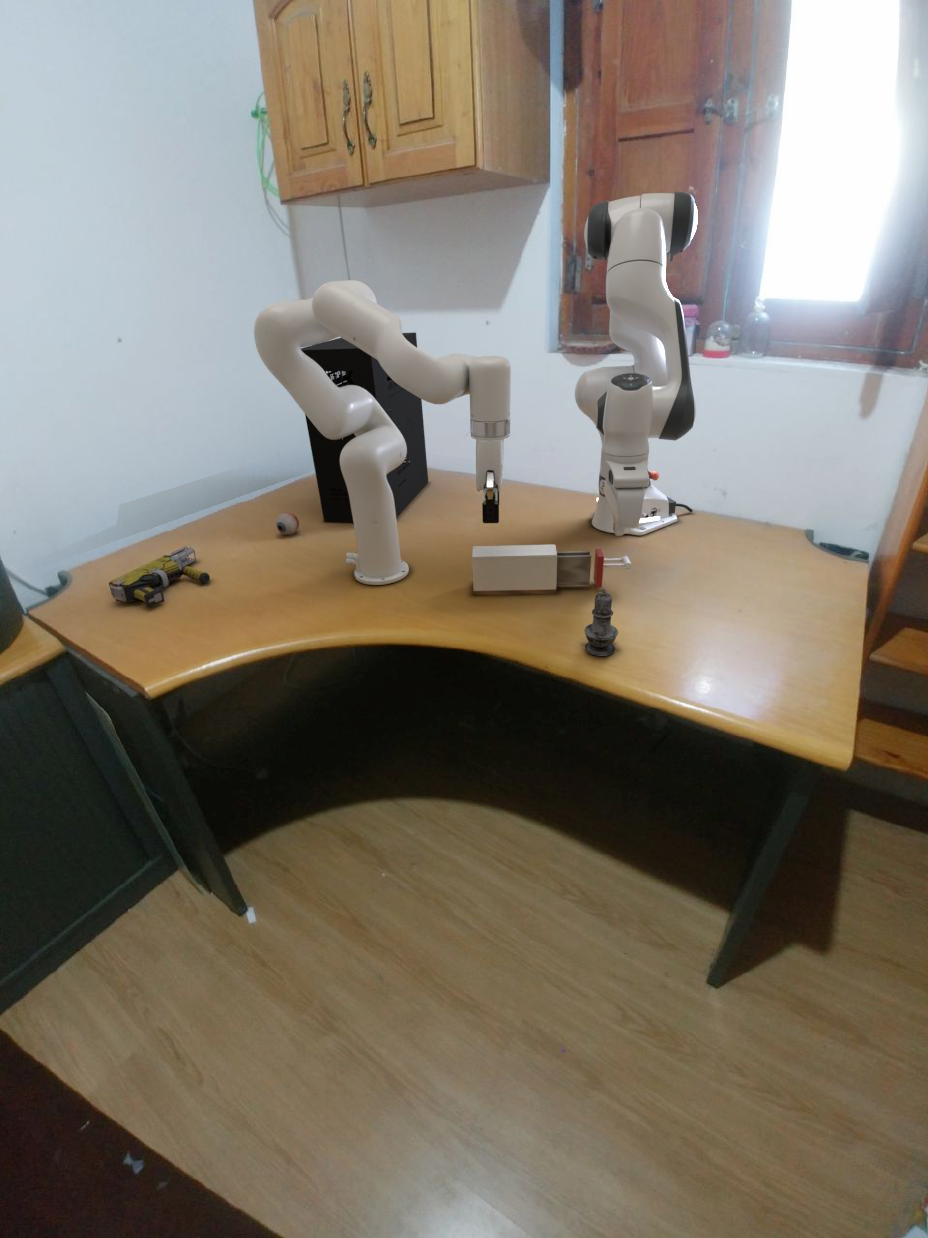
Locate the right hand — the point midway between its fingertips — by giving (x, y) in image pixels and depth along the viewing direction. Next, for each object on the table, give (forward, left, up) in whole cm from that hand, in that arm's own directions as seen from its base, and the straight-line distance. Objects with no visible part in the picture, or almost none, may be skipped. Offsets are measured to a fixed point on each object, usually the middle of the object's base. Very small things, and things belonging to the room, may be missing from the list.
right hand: (618, 532), depth 123 cm
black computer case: (+26, -82, -12) cm, 87 cm away
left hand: (+23, -12, +5) cm, 26 cm away
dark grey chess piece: (+17, +19, -12) cm, 28 cm away
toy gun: (+86, -51, -12) cm, 101 cm away
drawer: (+7, -4, -11) cm, 14 cm away
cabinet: (+19, -10, -12) cm, 25 cm away
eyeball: (+56, -69, -12) cm, 90 cm away
